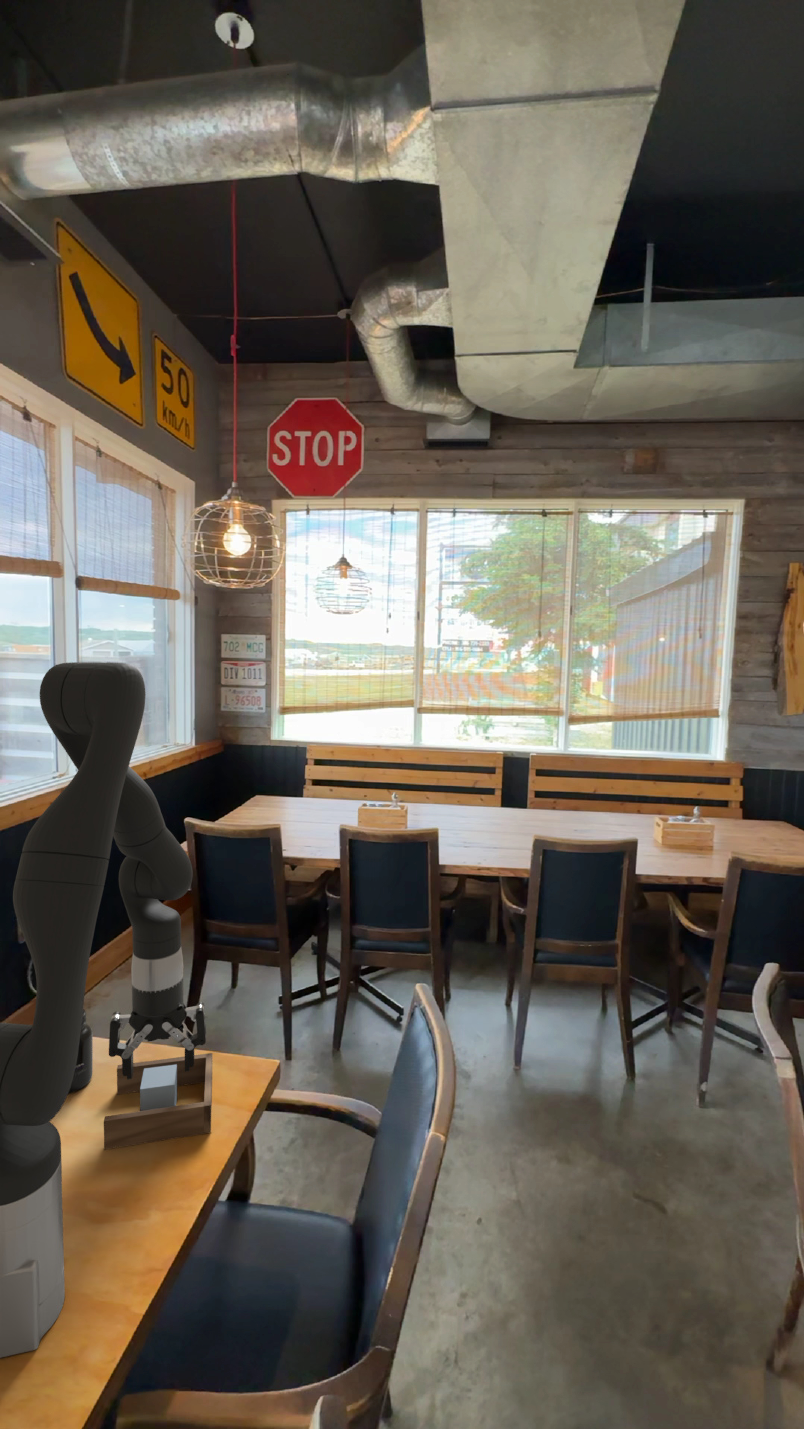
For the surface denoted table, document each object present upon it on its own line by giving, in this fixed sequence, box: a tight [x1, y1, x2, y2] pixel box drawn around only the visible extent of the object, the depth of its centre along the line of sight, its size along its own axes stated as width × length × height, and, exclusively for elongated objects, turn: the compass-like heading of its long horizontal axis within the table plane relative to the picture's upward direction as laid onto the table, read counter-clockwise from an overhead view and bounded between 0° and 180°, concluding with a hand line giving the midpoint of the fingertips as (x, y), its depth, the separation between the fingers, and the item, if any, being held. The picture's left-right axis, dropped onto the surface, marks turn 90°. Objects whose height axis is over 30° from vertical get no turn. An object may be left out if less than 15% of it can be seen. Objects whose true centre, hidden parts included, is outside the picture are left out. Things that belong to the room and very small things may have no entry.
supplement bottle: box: [68, 1008, 94, 1094], centre depth 109 cm, size 7×7×12 cm
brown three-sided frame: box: [103, 1052, 213, 1150], centre depth 103 cm, size 13×15×4 cm
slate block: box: [139, 1064, 178, 1111], centre depth 103 cm, size 5×5×6 cm
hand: (159, 1072), depth 103 cm, fingers open, 8 cm apart
